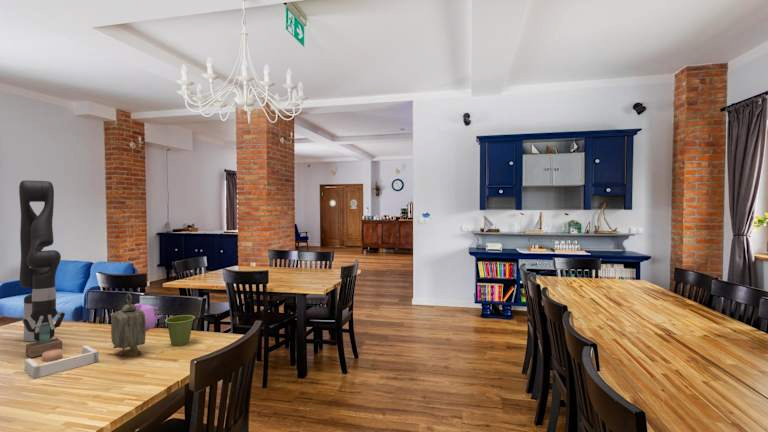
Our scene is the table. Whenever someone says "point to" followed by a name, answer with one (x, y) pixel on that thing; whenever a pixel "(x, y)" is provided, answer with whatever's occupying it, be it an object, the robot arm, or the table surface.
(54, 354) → the pink rounded dome
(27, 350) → the brown and teal block
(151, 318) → the teakettle
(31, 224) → the robot arm
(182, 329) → the plant pot
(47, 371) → the frame
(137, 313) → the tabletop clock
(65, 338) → the table surface
